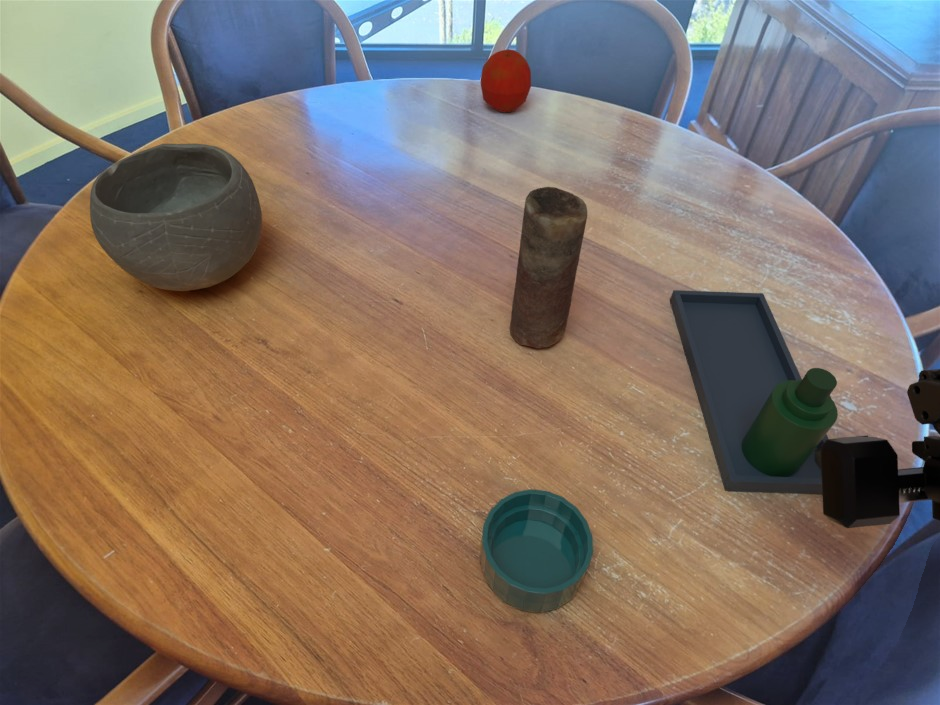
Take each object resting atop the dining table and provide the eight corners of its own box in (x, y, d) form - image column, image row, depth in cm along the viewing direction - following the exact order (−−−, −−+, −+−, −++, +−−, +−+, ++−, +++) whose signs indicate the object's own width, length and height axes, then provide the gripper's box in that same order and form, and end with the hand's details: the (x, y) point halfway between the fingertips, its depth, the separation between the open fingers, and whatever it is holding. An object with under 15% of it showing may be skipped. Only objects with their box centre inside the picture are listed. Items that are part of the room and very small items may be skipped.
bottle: (809, 478, 68) (868, 404, 58) (752, 477, 68) (801, 403, 58) (788, 430, 72) (840, 354, 63) (734, 430, 72) (778, 353, 62)
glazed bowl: (604, 558, 61) (614, 534, 58) (542, 638, 56) (549, 617, 52) (523, 496, 66) (527, 471, 62) (459, 565, 60) (459, 541, 57)
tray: (841, 495, 67) (850, 485, 66) (725, 491, 67) (731, 481, 65) (758, 303, 88) (763, 293, 86) (669, 300, 88) (673, 289, 86)
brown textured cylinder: (531, 304, 86) (549, 177, 72) (576, 329, 83) (603, 201, 69) (498, 333, 82) (509, 205, 68) (543, 360, 79) (565, 231, 65)
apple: (490, 92, 132) (493, 35, 123) (535, 102, 129) (541, 44, 121) (472, 112, 125) (473, 53, 117) (518, 122, 123) (524, 63, 114)
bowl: (232, 330, 82) (198, 236, 71) (90, 303, 84) (36, 209, 73) (297, 236, 96) (278, 146, 85) (174, 216, 98) (139, 126, 87)
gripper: (1175, 361, 40) (959, 352, 55) (906, 382, 38) (760, 367, 53) (1179, 532, 40) (963, 476, 56) (912, 562, 38) (766, 495, 54)
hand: (865, 451), depth 54 cm, fingers open, 9 cm apart
